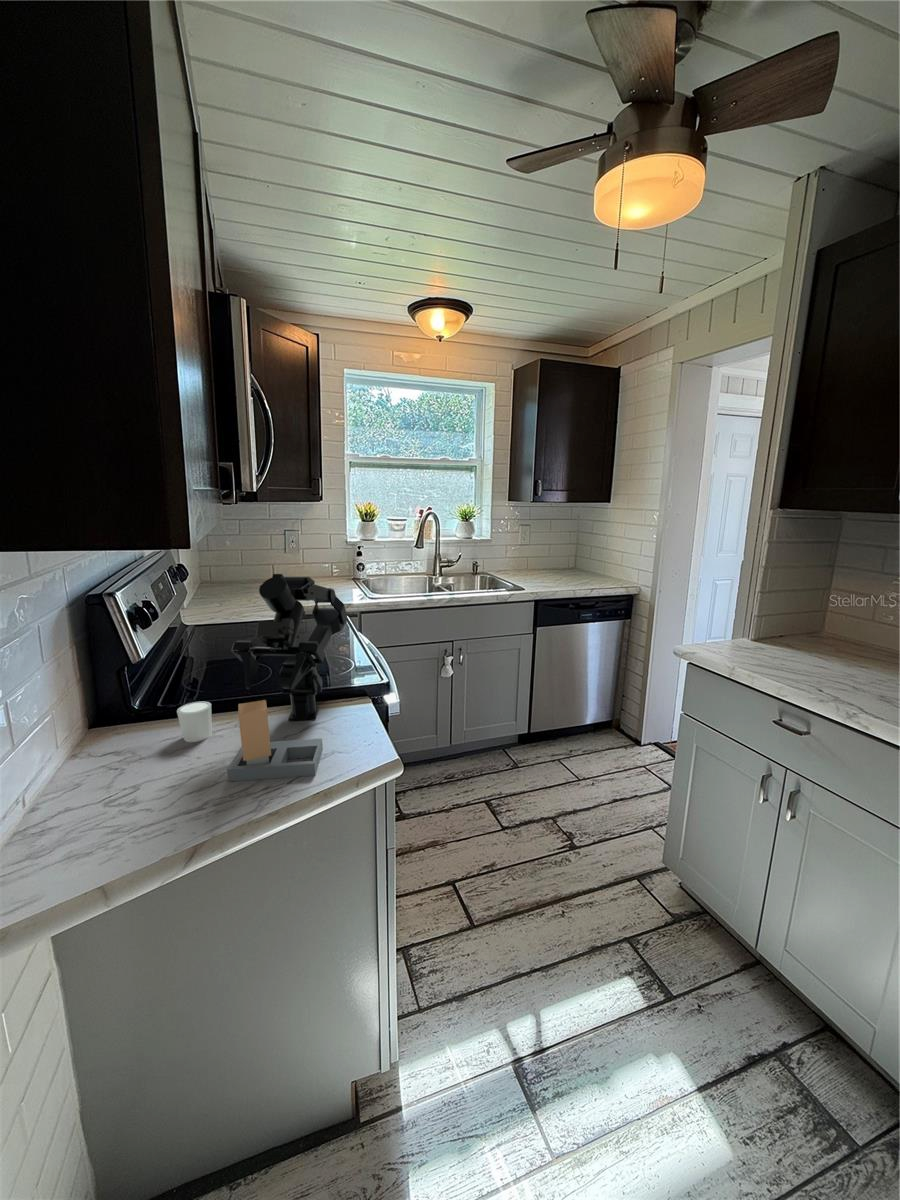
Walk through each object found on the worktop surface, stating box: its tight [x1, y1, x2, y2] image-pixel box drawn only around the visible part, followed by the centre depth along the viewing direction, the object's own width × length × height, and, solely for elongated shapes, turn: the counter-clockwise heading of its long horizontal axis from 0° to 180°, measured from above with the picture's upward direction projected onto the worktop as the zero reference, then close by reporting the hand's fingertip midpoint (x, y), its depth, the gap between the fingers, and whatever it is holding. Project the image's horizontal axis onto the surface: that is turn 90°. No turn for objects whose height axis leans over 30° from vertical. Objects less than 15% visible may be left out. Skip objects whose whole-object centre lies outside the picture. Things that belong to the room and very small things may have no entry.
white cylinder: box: [176, 701, 213, 743], centre depth 108 cm, size 7×7×7 cm
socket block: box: [226, 738, 324, 783], centre depth 97 cm, size 10×16×2 cm, turn 97°
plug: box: [237, 699, 271, 765], centre depth 94 cm, size 5×5×13 cm
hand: (269, 688), depth 100 cm, fingers open, 9 cm apart
